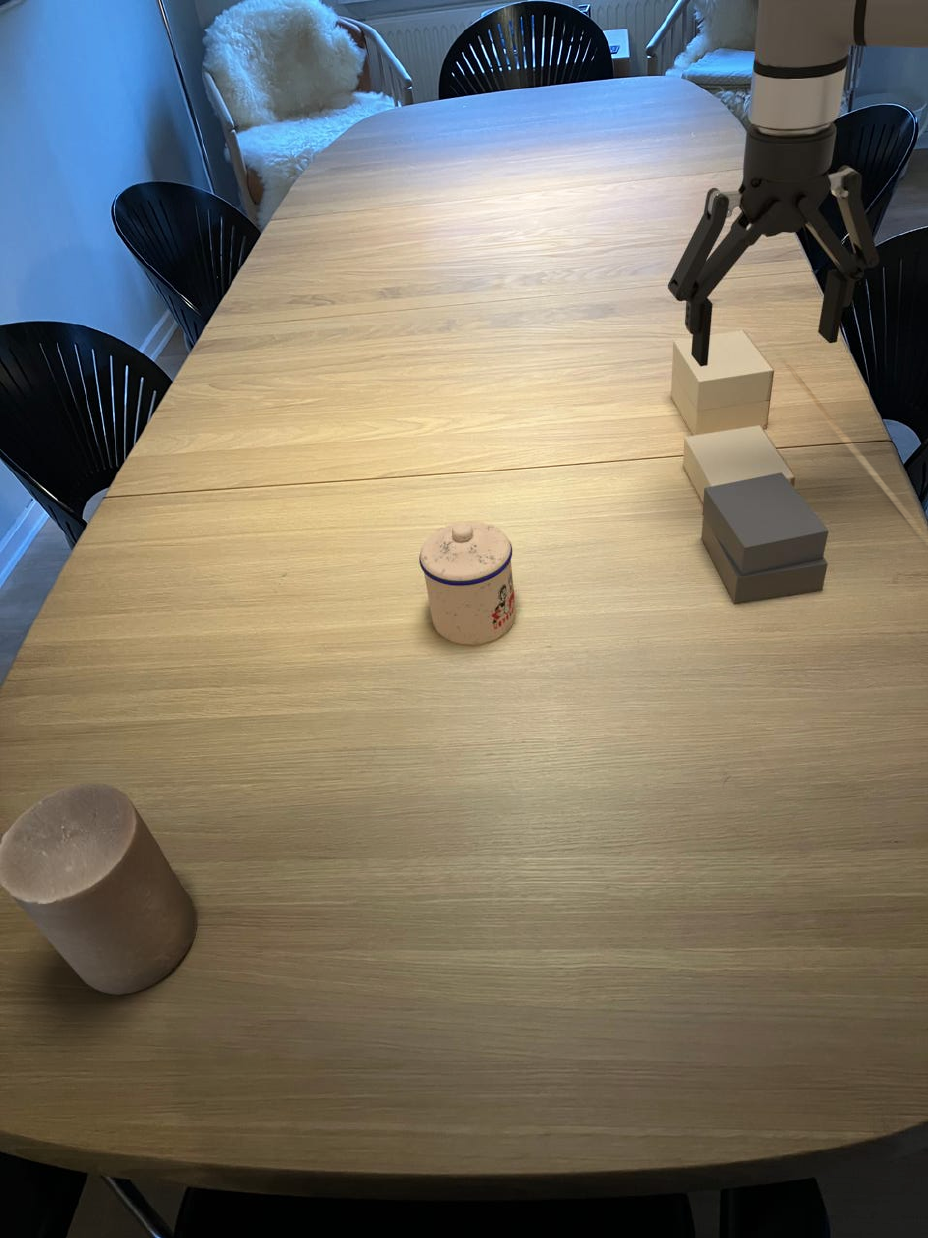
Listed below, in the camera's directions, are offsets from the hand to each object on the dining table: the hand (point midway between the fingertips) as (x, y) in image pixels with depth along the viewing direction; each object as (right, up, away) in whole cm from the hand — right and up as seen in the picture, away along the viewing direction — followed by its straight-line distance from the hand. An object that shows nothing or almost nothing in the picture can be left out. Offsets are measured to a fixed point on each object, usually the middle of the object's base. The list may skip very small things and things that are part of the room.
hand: (763, 348), depth 95 cm
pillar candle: (-57, -53, -22) cm, 81 cm away
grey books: (0, -22, +2) cm, 22 cm away
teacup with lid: (-29, -27, +2) cm, 40 cm away
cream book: (+1, -12, +12) cm, 17 cm away
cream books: (+2, -1, +24) cm, 24 cm away
